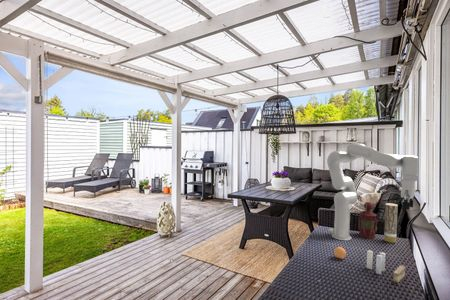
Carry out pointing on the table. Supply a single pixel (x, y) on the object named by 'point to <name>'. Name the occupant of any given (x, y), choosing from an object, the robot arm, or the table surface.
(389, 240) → the paper tube
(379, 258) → the back pin right
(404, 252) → the table surface
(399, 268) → the back wall
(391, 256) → the table surface
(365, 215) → the lantern
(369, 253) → the front pin
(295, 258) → the table surface
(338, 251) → the ball
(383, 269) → the back pin left
